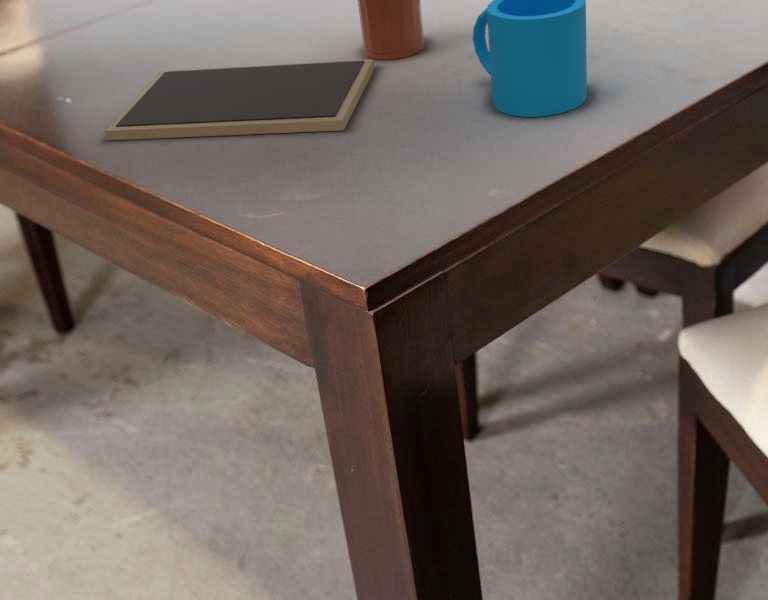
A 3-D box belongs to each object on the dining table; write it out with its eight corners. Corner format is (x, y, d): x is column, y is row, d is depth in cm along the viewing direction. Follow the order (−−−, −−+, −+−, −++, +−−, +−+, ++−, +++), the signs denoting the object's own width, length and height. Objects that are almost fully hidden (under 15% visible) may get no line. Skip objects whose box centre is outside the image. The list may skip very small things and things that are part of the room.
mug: (607, 94, 95) (607, -2, 90) (539, 124, 91) (535, 25, 87) (511, 67, 103) (506, -23, 99) (444, 93, 100) (436, 2, 95)
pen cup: (359, 61, 110) (348, -22, 105) (370, 41, 114) (360, -39, 110) (419, 57, 108) (411, -26, 104) (427, 37, 113) (420, -43, 109)
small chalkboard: (107, 140, 100) (104, 128, 99) (162, 80, 112) (159, 69, 111) (344, 130, 95) (342, 117, 95) (375, 69, 107) (373, 57, 107)
